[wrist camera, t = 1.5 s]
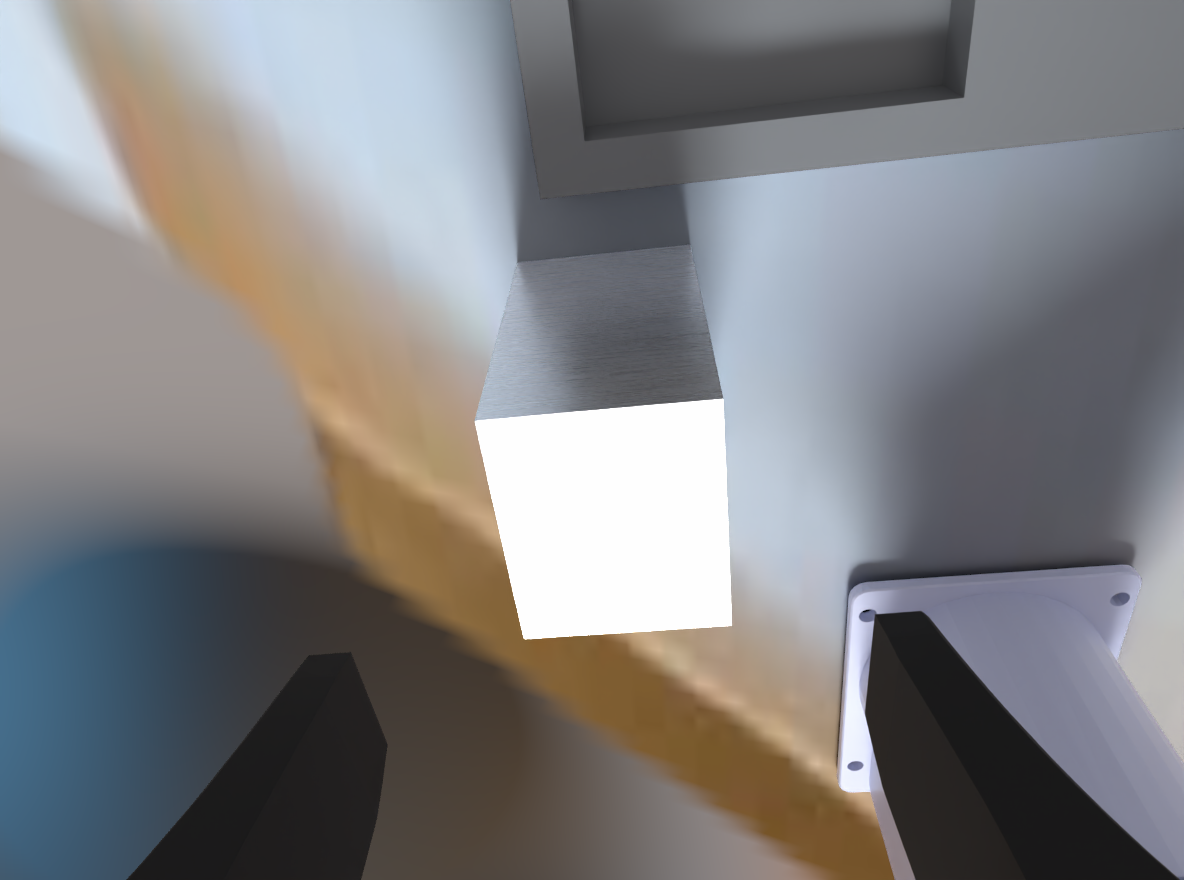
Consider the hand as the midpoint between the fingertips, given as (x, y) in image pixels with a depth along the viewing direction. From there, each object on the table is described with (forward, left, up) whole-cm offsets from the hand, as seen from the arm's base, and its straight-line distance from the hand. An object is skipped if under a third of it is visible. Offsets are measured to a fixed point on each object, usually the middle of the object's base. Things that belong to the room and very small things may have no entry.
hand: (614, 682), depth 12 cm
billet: (0, 0, -11) cm, 11 cm away
